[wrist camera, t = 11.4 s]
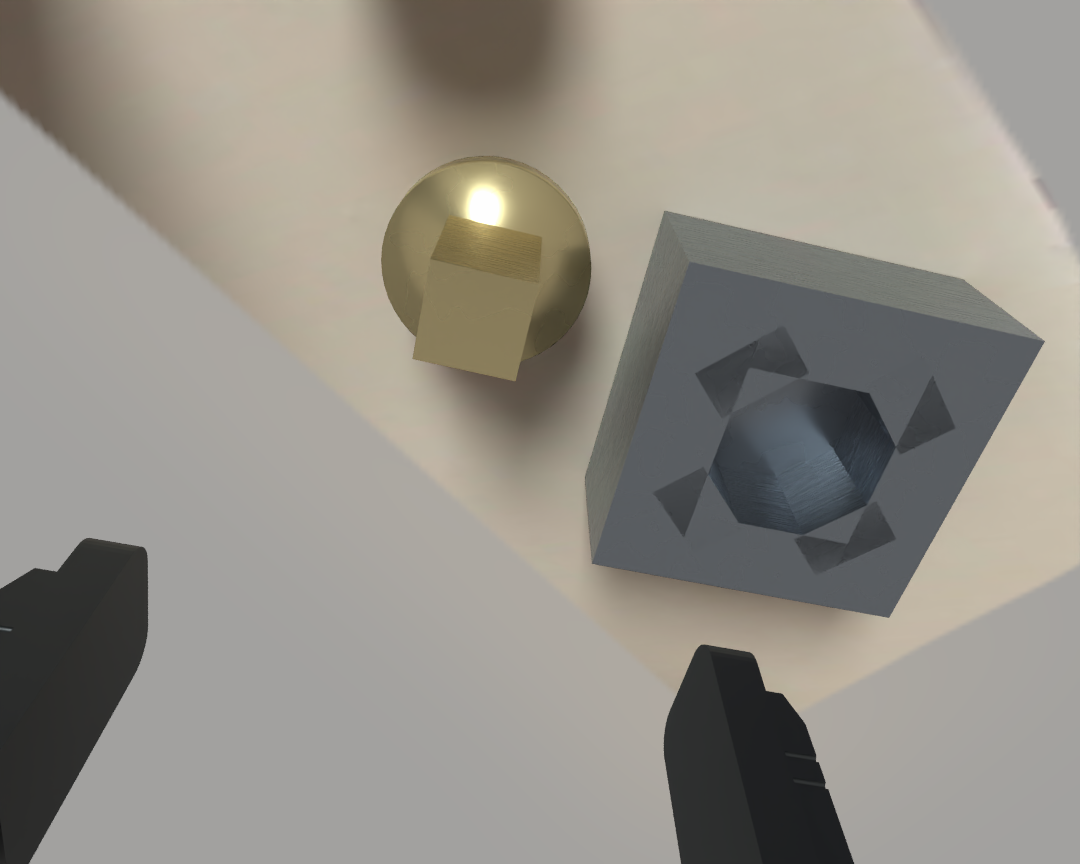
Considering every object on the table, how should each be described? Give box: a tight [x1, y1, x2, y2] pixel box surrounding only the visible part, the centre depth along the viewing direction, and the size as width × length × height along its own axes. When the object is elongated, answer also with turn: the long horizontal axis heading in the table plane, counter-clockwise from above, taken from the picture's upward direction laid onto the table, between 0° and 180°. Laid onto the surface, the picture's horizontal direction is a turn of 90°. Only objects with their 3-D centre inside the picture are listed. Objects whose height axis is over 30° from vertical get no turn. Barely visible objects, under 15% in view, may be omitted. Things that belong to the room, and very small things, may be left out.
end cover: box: [381, 156, 591, 381], centre depth 27 cm, size 7×7×9 cm
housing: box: [585, 211, 1045, 618], centre depth 32 cm, size 12×12×6 cm
